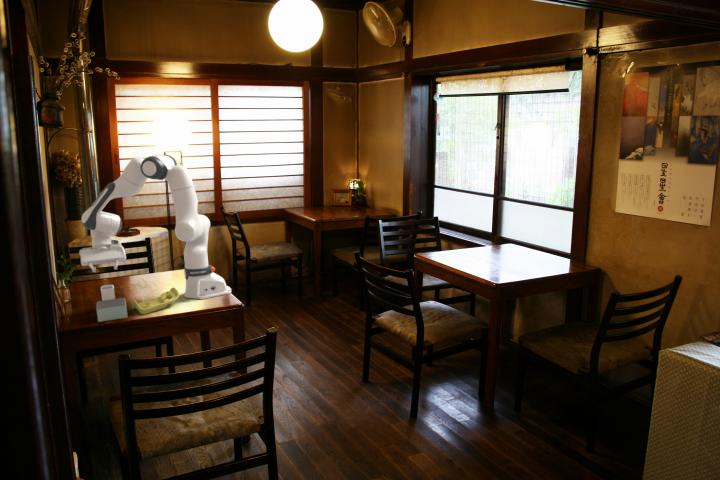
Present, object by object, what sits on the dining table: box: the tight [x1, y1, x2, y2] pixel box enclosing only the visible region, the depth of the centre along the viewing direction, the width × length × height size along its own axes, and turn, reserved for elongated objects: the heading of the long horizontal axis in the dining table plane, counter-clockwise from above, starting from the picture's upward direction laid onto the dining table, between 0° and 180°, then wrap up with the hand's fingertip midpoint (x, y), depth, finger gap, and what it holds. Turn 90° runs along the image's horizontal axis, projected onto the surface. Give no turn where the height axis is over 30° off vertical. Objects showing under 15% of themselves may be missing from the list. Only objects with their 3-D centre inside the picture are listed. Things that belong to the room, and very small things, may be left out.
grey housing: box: [100, 284, 116, 301], centre depth 276 cm, size 6×6×11 cm
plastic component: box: [131, 287, 180, 315], centre depth 275 cm, size 20×7×10 cm
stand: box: [96, 297, 129, 323], centre depth 265 cm, size 12×12×6 cm
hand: (105, 270), depth 285 cm, fingers open, 8 cm apart
